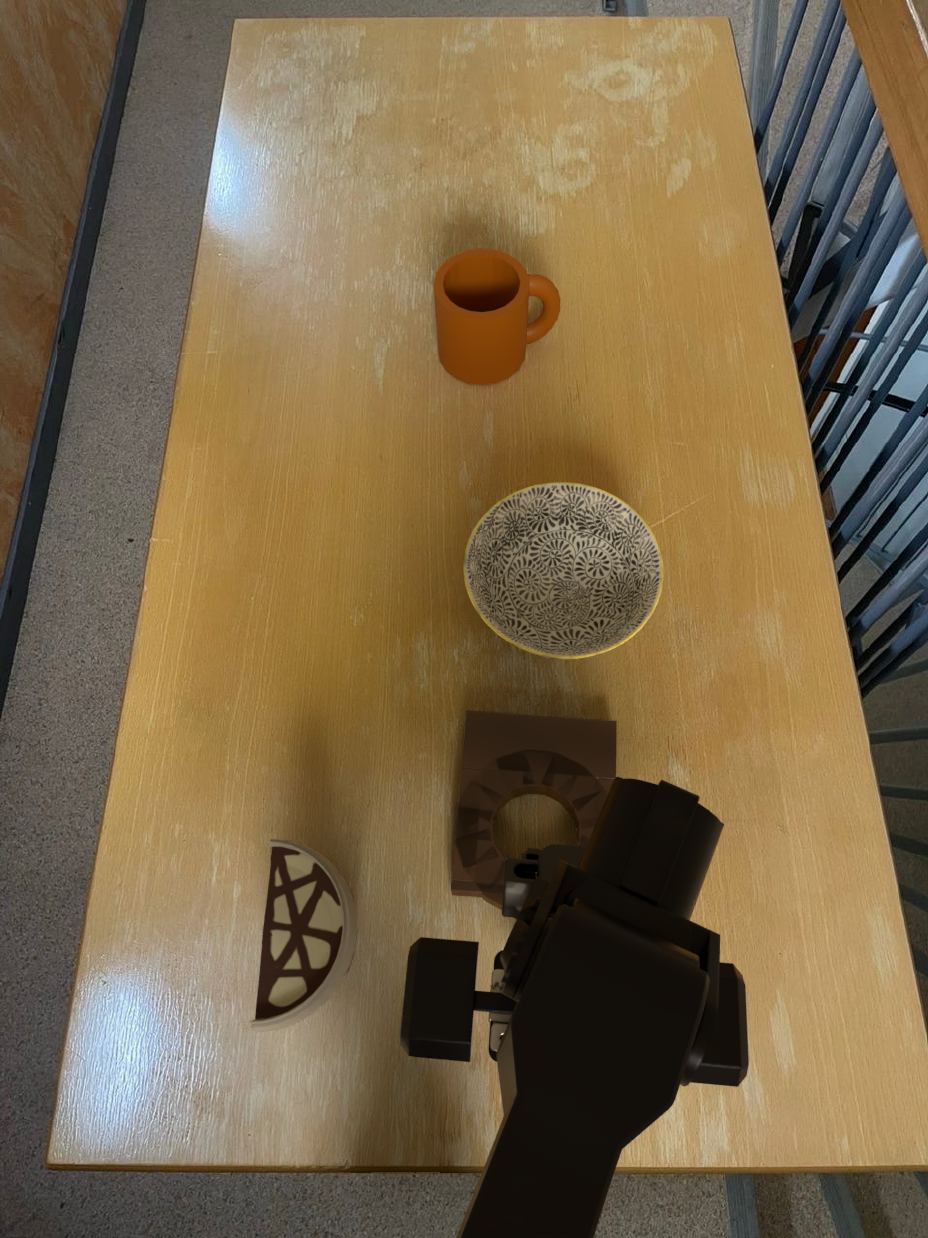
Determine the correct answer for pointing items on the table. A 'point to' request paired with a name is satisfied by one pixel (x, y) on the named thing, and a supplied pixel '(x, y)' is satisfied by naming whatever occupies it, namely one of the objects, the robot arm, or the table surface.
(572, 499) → the bowl
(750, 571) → the table surface
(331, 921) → the food container
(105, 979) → the table surface
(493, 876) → the holder
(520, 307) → the mug
